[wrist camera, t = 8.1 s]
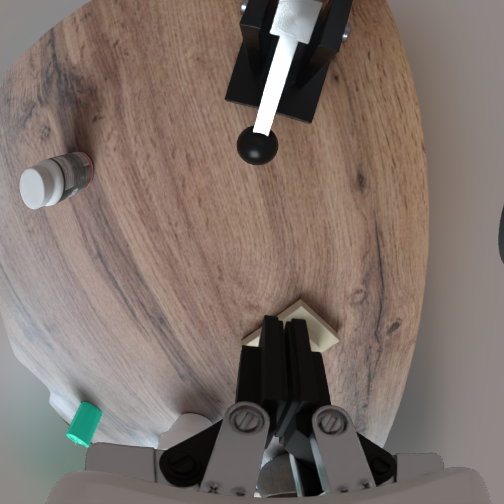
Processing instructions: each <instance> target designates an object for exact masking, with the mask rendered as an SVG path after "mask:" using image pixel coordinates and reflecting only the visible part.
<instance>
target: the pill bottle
mask: <svg viewBox="0 0 504 504" xmlns="http://www.w3.org/2000/svg"><path fill="white" fill-rule="evenodd" d="M92 178H93V165H92V162H91V160H90V158H89V157H88V156H87V155H86V154H85V153H83V152H73V153H69V154H65V155H61V156H57V157H53V158H49V159H45V160H43V161H41V162H39V163H38V164H37V165H35V166H33V167H30V168H28V169H26V170H25V171H24V172H23V174H22V176H21V179H20V192H21V196H22V199H23V201H24V203H25V204H26V205H27V206H28V207H29V208H31V209H38V208H40V207H42V206H51V205H54V204H56V203H58V202H60V201H62V200H64V199H66V198H68V197H70V196H72V195H75V194H77V193H79V192H81V191H83V190H85V189H86V188H87V187H88V186H89V185H90V183H91V181H92Z"/></svg>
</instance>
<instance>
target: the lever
mask: <svg viewBox="0 0 504 504" xmlns="http://www.w3.org/2000/svg"><path fill="white" fill-rule="evenodd" d="M322 6H323V3H322V2H319V1H315V0H279V1H278V4H277V7H276V11H275V14H274V18H273V21H272V24H271V28H270V31H269V33H270V34H273V35H277V36H279V39H278V43H277V46H276V50H275V53H274V56H273V60H272V63H271V67H270V70H269V74H268V78H267V81H266V85H265V88H264V92H263V96H262V99H261V103H260V107H259V110H258V114H257V118H256V121H255V125H254V126H250V127H248V128H246V129H245V130H243V131H242V132H241V134H240V135H239V137H238V140H237V151H238V153H239V155H240V157H241V158H242V159H243V160H244V161H245V162H247V163H249V164H252V165H263V164H266V163H268V162H270V161H271V160H272V159H273V158H274V157H275V155H276V153H277V151H278V140H277V137H276V135H275V134H274V133H273V132H272V131H271V130H270V129H271V126H272V123H273V120H274V116H275V113H276V110H277V107H278V104H279V100H280V97H281V94H282V91H283V88H284V85H285V82H286V78H287V75H288V72H289V69H290V66H291V63H292V60H293V57H294V54H295V51H296V48H297V45H298V42H302V43H306V44H309V42H310V40H311V37H312V34H313V31H314V28H315V25H316V23H317V20H318V17H319V14H320V11H321V9H322Z"/></svg>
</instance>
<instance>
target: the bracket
mask: <svg viewBox="0 0 504 504" xmlns="http://www.w3.org/2000/svg"><path fill="white" fill-rule="evenodd" d="M277 2H278V0H243V2H242V5H241V15H243V16H242V18H241V21H240V28H241V32H242V36H243V42H242V45H241V48H240V51H239V54H238V57H237V60H236V64H235V67H234V70H233V73H232V76H231V80H230V83H229V86H228V90H227V93H226V96H225V100H226V101H227V102H232V103H236V104H241V105H245V106H249V107H253V108H257V109H259V107H260V103H261V99H262V96H263V92H264V88H265V85H266V81H267V78H268V74H269V70H270V67H271V63H272V60H273V56H274V53H275V50H276V46H277V43H278V39H279V36H277V35H273V34H270V33H269V31H270V28H271V24H272V21H273V18H274V14H275V11H276V7H277ZM352 2H353V0H329V2H328V4H327V5H326V7H325V9H324V11H323V13H322V15H321V16H320V18H318V20H317V23H316V25H315V28H314V31H313V34H312V37H311V40H310V42H309V44H306V43H302V42H298V45H297V48H296V51H295V54H294V57H293V60H292V63H291V66H290V69H289V72H288V75H287V78H286V82H285V85H284V88H283V91H282V94H281V97H280V100H279V104H278V107H277V110H276V114H279V115H282V116H286V117H289V118H292V119H296V120H299V121H302V122H305V123H308V124H311V123H312V120H313V116H314V113H315V110H316V107H317V103H318V100H319V97H320V93H321V90H322V87H323V83H324V80H325V77H326V73H327V70H328V66H329V63H330V60H331V59H332V58H333V57H334V56H335V55H336V54H337V53H338V52H339V49H340V46H341V42H342V43H344V42H345V41H346V40H347V38H348V36H349V34H350V31H351V24H349V23H347V20H348V17H349V13H350V9H351V5H352Z"/></svg>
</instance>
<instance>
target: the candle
mask: <svg viewBox="0 0 504 504" xmlns="http://www.w3.org/2000/svg"><path fill="white" fill-rule="evenodd" d="M101 416H102V412H101V411H100V410H99V409H98V408H96V407H95V406H93V405H92V404H90V403H87V402H81V404H80V406H79V408H78V410H77V412H76V414H75V416H74V418H73V420H72V423H71V425H70V427H69V429H68V431H67V433H66V435H67V436H68V437H69V438H70V439H71V440H73V441H74V442H76V443H79V444H82V445H83V446H85V447H89V445H90V442H91V440H92V437H93V435H94V433H95V430H96V428H97V426H98V423H99V421H100V419H101ZM75 445H76V444H75Z"/></svg>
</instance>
